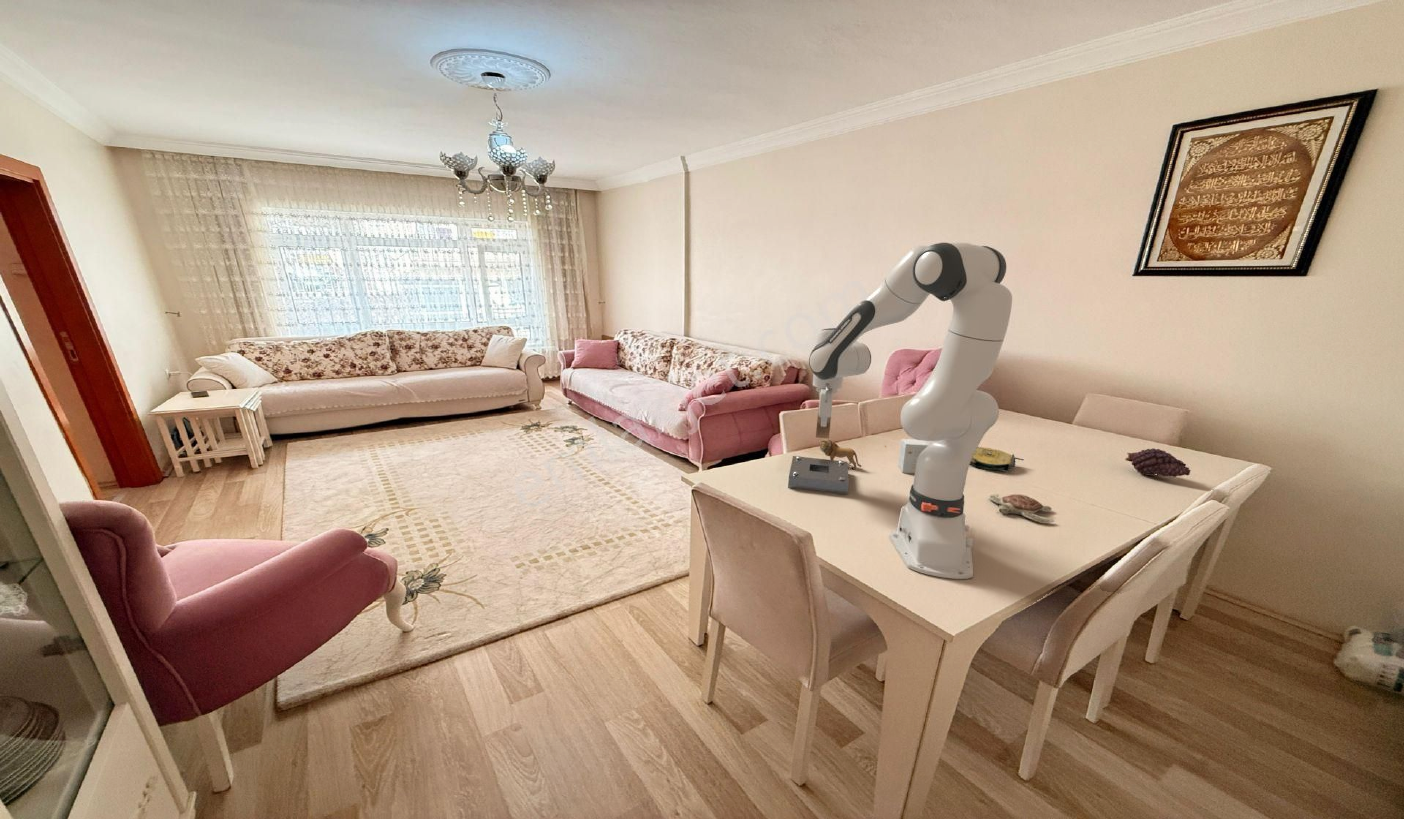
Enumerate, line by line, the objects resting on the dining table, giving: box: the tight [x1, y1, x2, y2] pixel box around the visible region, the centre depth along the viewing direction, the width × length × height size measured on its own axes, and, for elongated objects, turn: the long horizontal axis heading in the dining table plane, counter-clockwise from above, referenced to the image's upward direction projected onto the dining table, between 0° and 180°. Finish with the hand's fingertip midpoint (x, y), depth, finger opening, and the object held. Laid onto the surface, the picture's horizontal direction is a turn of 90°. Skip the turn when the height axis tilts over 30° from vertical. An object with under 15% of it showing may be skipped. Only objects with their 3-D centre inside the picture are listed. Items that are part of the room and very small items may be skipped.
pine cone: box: [1124, 447, 1191, 478], centre depth 168 cm, size 18×10×10 cm, turn 27°
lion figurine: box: [819, 438, 862, 470], centre depth 172 cm, size 15×5×9 cm, turn 73°
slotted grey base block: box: [787, 455, 850, 496], centre depth 160 cm, size 18×18×5 cm
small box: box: [897, 438, 929, 474], centre depth 169 cm, size 8×6×10 cm
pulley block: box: [969, 446, 1024, 475], centre depth 180 cm, size 14×6×30 cm
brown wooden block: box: [815, 406, 832, 440], centre depth 155 cm, size 4×4×10 cm
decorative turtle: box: [988, 493, 1055, 524], centre depth 142 cm, size 18×17×5 cm
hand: (823, 423), depth 155 cm, fingers closed on brown wooden block, 4 cm apart
